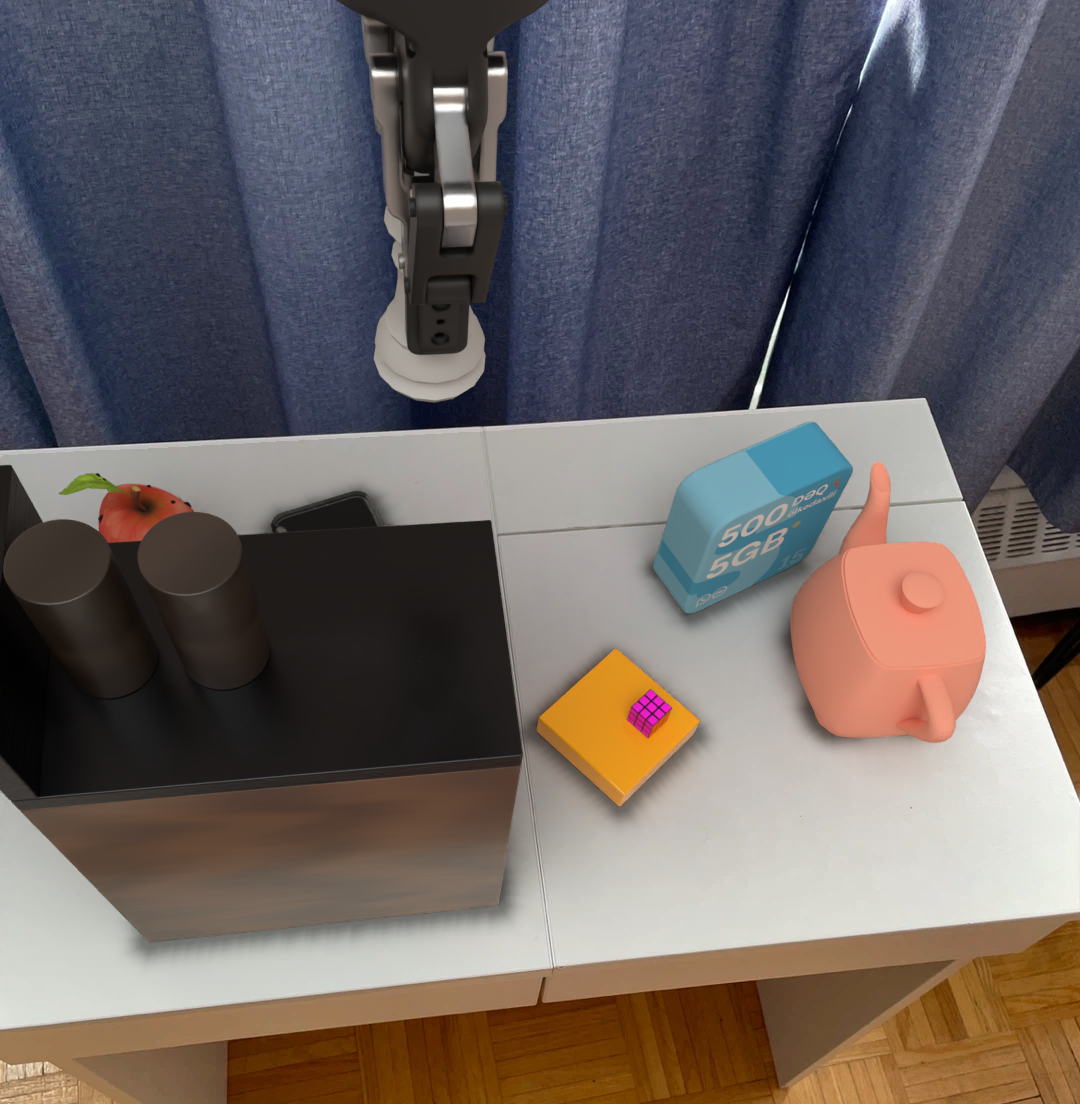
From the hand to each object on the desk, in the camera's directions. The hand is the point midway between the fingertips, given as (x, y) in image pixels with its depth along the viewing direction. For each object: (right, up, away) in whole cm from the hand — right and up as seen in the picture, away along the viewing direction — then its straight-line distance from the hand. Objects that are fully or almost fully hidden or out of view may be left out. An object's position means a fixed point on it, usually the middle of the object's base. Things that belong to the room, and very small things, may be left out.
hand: (430, 305), depth 41 cm
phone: (-10, -6, +39) cm, 41 cm away
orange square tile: (+9, -17, +36) cm, 41 cm away
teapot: (+28, -12, +40) cm, 50 cm away
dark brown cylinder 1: (-15, -13, +8) cm, 22 cm away
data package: (+19, -4, +43) cm, 47 cm away
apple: (-24, -5, +39) cm, 46 cm away
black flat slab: (-8, -13, +10) cm, 18 cm away
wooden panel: (-10, -23, +31) cm, 40 cm away
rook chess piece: (0, -1, +3) cm, 3 cm away
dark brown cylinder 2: (-10, -12, +9) cm, 18 cm away
